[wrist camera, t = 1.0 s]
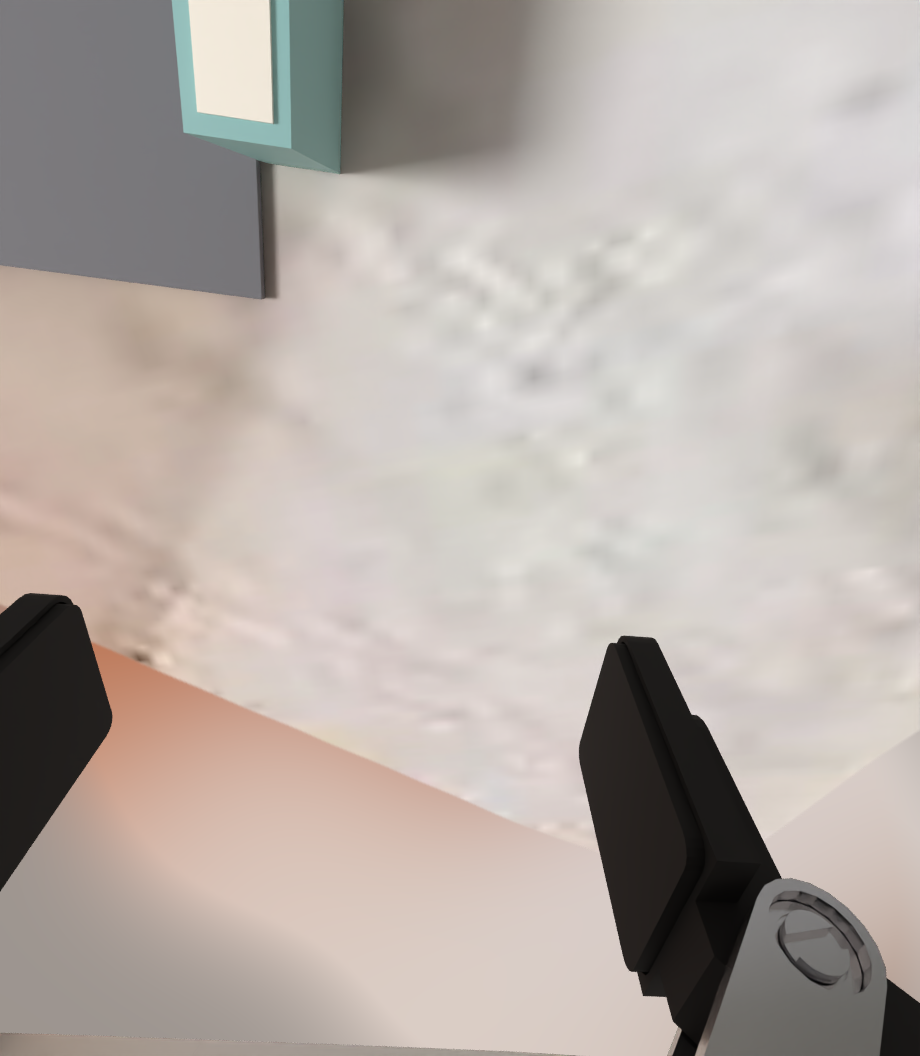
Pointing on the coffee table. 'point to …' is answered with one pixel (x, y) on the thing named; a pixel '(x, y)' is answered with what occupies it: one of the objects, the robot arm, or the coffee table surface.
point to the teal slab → (263, 77)
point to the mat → (116, 155)
